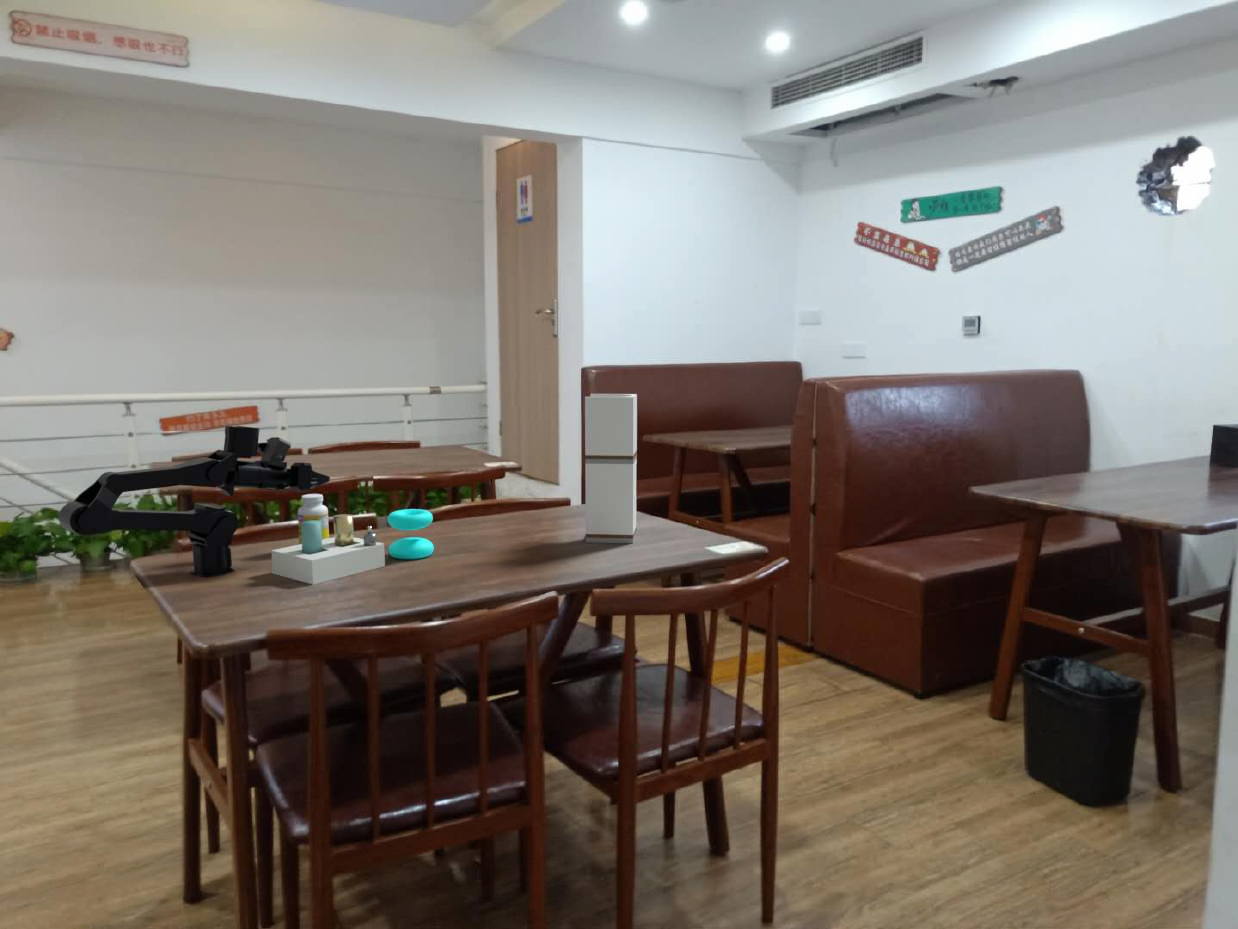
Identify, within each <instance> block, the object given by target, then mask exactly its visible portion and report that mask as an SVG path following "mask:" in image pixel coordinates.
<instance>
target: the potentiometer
mask: <svg viewBox="0 0 1238 929" xmlns="http://www.w3.org/2000/svg"><path fill="white" fill-rule="evenodd" d="M363 539H364V546H375V545H376V542H377V533H376V532H372V526H371V525H368V526H367V532H366V533H365V532H364V533H363Z"/></svg>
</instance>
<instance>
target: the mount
mask: <svg viewBox="0 0 1238 929" xmlns="http://www.w3.org/2000/svg"><path fill="white" fill-rule="evenodd" d="M385 558H386V557H385V543H384V542H377V541H376V545H375V546H364V538H358V537H355V536H354V545H350V546H345V547H338V546H335V541H334V536H333V537H329V538H327V539H323V540H322V552H319V553H314V554H310V555H308V554H304V553H302V544H295V545H291V546H286V547H282V548H276V549H271V563H272V564H271V568H272V574H273V575H276V574H277V575H276V576H279V575H280V577H284V578H287V577H288V578H287V579H290V578H291V579H290V580H294V581H299V582H302V583H306V584H309V585H313V586H314V585H317V584H321V583H325V582H328V581H333V580H337V579H340V578H345V577H348V576H352V575H356V574H360V573H364V572H368V571H372V570H376V569H379V568H383V567H385V566H386V561H385V560H386V559H385Z"/></svg>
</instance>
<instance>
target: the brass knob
mask: <svg viewBox="0 0 1238 929" xmlns="http://www.w3.org/2000/svg"><path fill="white" fill-rule="evenodd" d="M332 518H333V533H334V534H333V537H334V541H335V546H338V547H345V546H350V545H354V537H355V536H354V531H355V530H354V515H353V514H347V513H346V514H345V513H343V514H336V515H335V514H334V516H333V517H332Z"/></svg>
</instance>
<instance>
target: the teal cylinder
mask: <svg viewBox="0 0 1238 929" xmlns="http://www.w3.org/2000/svg"><path fill="white" fill-rule="evenodd" d="M301 538H302V553H304V554H308V555H310V554H314V553H319V552H322V531H321V521H317V520H311V521H304V522H301Z"/></svg>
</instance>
